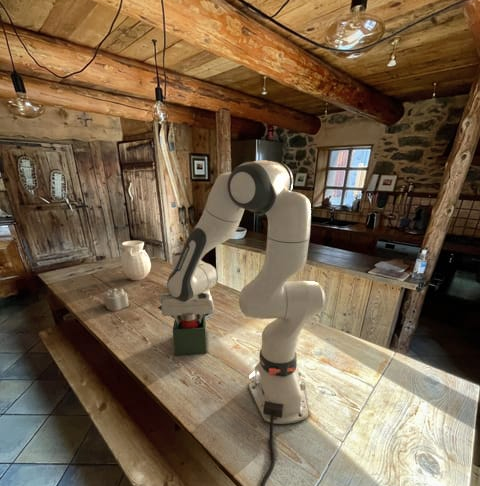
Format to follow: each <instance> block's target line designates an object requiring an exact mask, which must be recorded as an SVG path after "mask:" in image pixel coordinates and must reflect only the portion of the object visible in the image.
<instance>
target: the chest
mask: <svg viewBox="0 0 480 486" xmlns="http://www.w3.org/2000/svg"><path fill="white" fill-rule="evenodd" d="M177 317H178V318H179V319H181V315H179V316H177ZM199 317H200V314H197V318H199ZM206 319H207V318H206V314H203V317H202V319H201V323H198V328H190V329H182V326H181V324H180V325H177V321H176V320H175V319H174V321H173V326H172V337H173V338H172V339H173V346H174V353H175V354H174V355H175V356H183V355H185V356H186V355H195V354H197V355H198V354H199V355H200V354H207V321H206Z"/></svg>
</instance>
